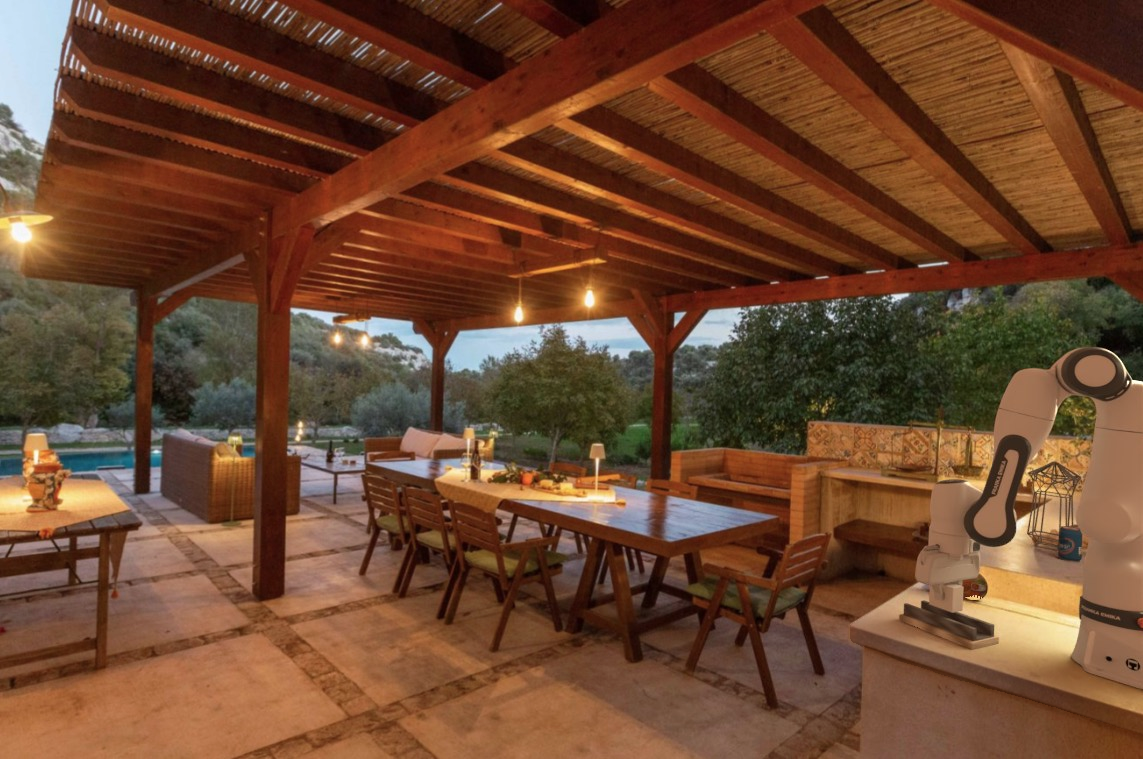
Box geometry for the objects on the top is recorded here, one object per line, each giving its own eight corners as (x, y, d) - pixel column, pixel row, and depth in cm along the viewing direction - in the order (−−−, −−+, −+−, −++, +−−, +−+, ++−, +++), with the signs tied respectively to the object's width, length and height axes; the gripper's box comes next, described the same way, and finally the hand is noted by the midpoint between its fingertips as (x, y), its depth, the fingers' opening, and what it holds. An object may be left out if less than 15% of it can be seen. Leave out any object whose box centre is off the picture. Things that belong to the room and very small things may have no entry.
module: (962, 610, 154) (963, 586, 154) (952, 612, 152) (953, 588, 152) (939, 602, 159) (940, 579, 159) (929, 604, 158) (930, 580, 158)
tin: (927, 591, 188) (928, 563, 188) (929, 589, 190) (930, 561, 190) (987, 604, 178) (987, 574, 178) (988, 601, 180) (989, 572, 180)
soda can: (1053, 558, 234) (1054, 526, 234) (1064, 556, 237) (1065, 525, 237) (1075, 563, 228) (1076, 530, 228) (1085, 561, 231) (1086, 529, 231)
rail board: (998, 643, 149) (999, 625, 149) (972, 649, 145) (973, 630, 145) (924, 615, 166) (924, 599, 166) (899, 620, 162) (899, 603, 162)
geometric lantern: (1031, 540, 262) (1036, 458, 262) (1078, 550, 250) (1084, 463, 250) (1020, 545, 252) (1026, 459, 252) (1069, 555, 240) (1074, 465, 240)
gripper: (933, 549, 149) (931, 607, 148) (986, 543, 157) (984, 598, 157) (909, 543, 154) (907, 598, 154) (961, 537, 163) (959, 590, 163)
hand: (946, 598), depth 156 cm, fingers closed on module, 4 cm apart
